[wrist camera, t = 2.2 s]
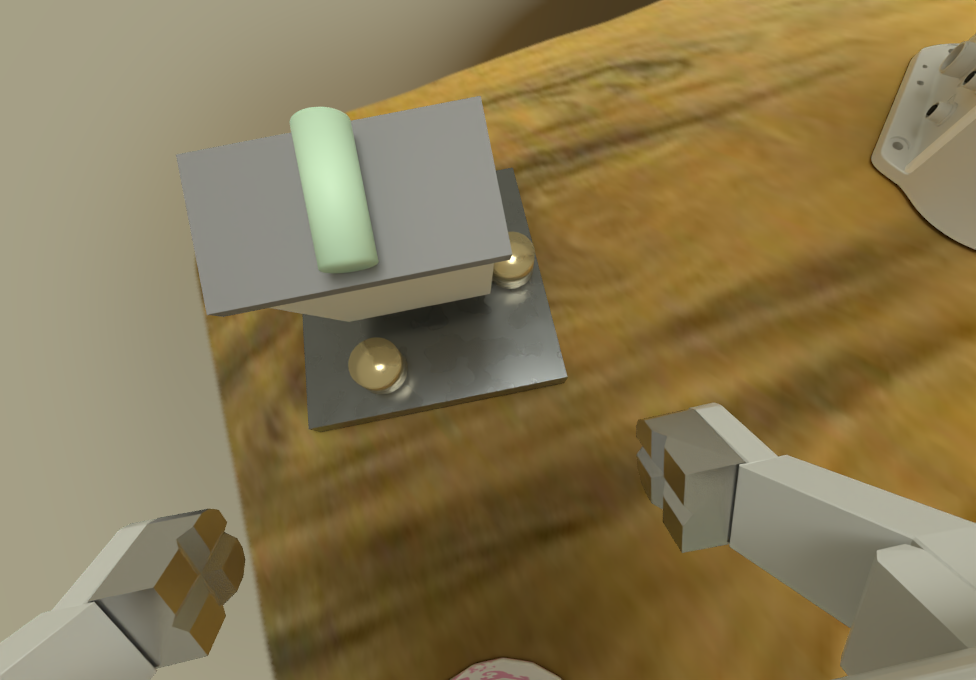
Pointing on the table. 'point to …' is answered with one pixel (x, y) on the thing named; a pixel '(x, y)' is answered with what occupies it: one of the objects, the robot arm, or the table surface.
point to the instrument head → (349, 214)
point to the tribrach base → (438, 345)
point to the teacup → (506, 671)
